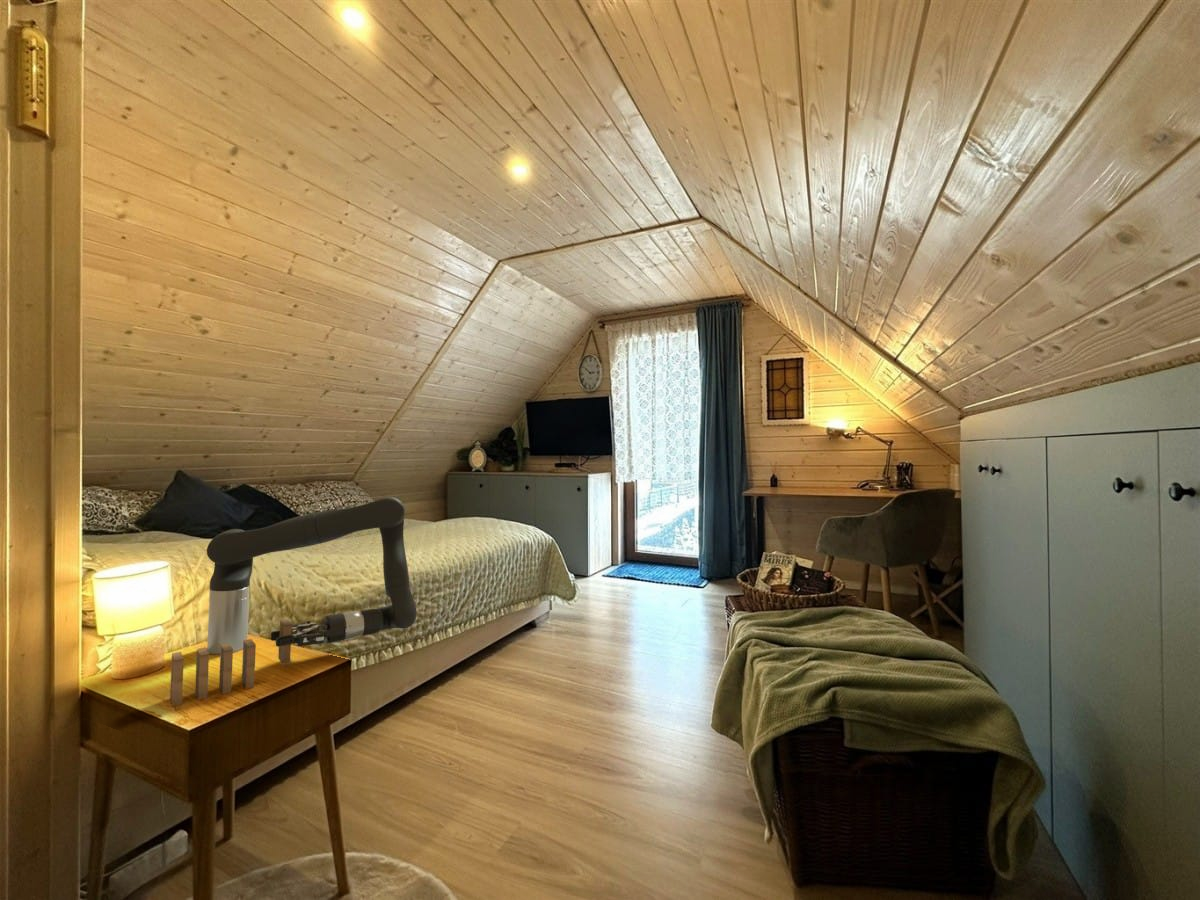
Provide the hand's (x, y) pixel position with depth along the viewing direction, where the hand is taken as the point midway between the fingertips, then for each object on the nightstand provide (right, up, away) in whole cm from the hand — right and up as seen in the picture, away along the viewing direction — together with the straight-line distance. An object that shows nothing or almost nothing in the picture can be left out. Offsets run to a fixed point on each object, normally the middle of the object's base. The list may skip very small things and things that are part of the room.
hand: (273, 639), depth 136 cm
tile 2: (0, -7, -10) cm, 12 cm away
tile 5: (-10, -7, -19) cm, 23 cm away
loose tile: (+2, -6, +2) cm, 7 cm away
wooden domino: (-7, -7, -16) cm, 19 cm away
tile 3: (-3, -7, -13) cm, 15 cm away
